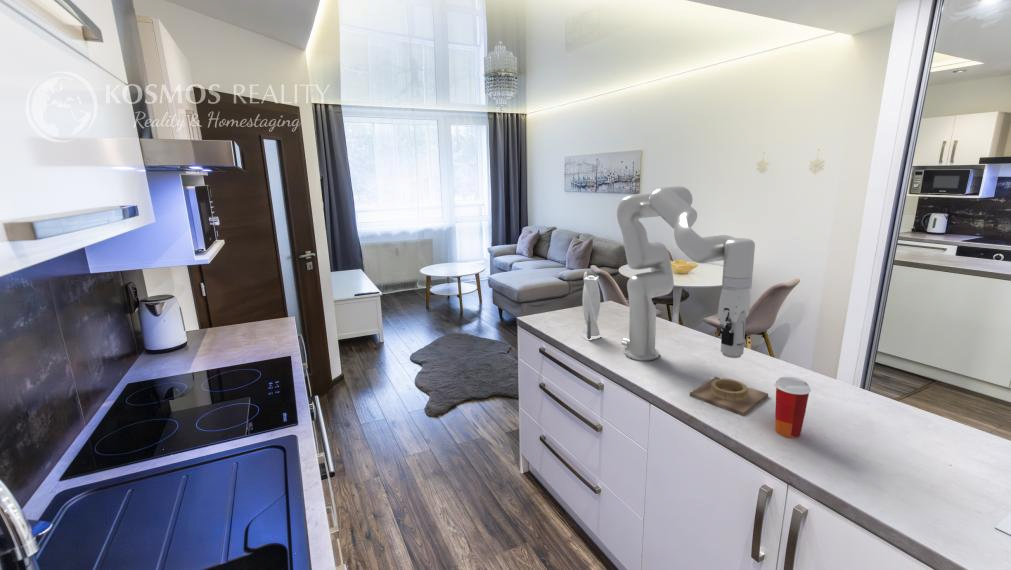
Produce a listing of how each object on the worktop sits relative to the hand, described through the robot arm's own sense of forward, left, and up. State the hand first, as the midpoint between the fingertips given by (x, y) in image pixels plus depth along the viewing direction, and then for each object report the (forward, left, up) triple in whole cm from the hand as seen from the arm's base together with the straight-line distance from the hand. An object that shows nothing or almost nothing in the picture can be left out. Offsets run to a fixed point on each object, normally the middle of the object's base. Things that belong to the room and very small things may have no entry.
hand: (732, 341), depth 130 cm
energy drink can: (0, 0, -5) cm, 5 cm away
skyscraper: (-64, +11, -18) cm, 67 cm away
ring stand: (0, 0, -18) cm, 18 cm away
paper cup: (+19, -8, -18) cm, 27 cm away
